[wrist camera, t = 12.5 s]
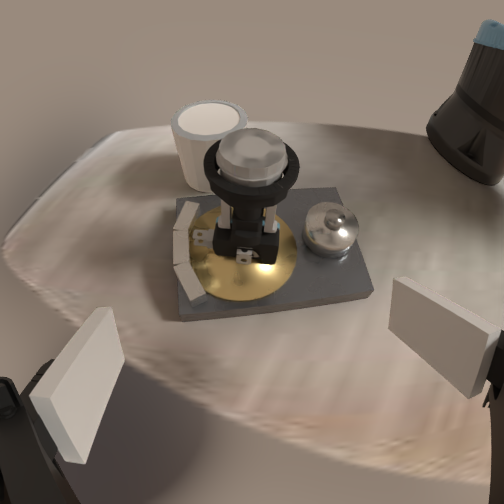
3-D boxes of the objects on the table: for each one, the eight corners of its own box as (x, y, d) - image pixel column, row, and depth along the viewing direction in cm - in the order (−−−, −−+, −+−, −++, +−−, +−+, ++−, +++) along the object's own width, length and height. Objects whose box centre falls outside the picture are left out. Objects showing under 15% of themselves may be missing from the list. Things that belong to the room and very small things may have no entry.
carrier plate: (331, 197, 30) (342, 167, 27) (367, 297, 25) (387, 274, 21) (177, 209, 28) (171, 178, 25) (180, 322, 23) (170, 300, 19)
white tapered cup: (256, 186, 31) (261, 129, 25) (189, 205, 29) (180, 148, 23) (230, 146, 34) (231, 93, 28) (171, 162, 32) (163, 108, 26)
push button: (189, 273, 23) (166, 175, 15) (201, 217, 26) (190, 116, 17) (278, 282, 23) (303, 186, 14) (281, 225, 26) (300, 124, 17)
